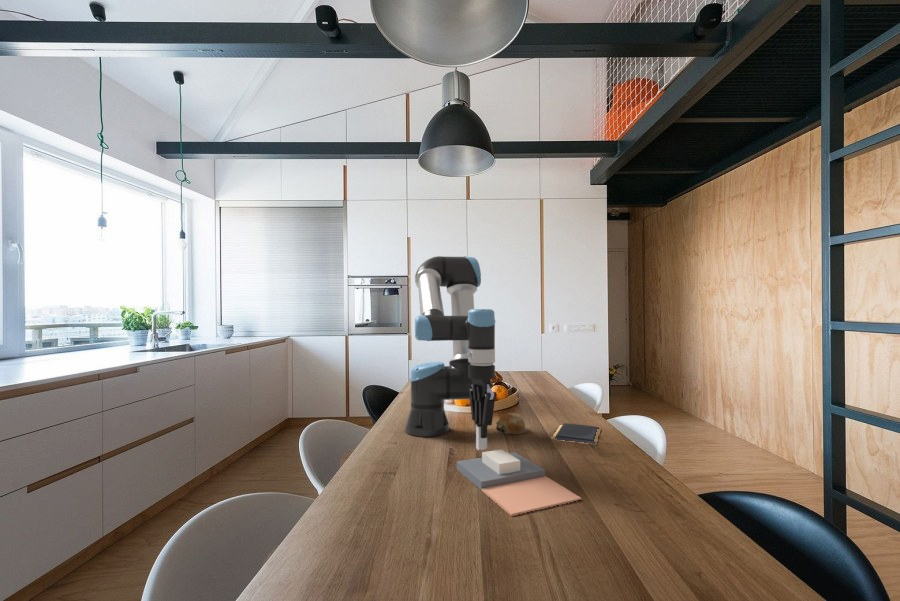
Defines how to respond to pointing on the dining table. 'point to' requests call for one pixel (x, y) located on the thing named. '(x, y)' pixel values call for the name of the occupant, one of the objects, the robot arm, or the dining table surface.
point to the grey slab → (488, 477)
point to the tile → (501, 461)
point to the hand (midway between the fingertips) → (481, 448)
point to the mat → (529, 495)
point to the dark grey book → (576, 433)
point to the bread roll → (511, 424)
